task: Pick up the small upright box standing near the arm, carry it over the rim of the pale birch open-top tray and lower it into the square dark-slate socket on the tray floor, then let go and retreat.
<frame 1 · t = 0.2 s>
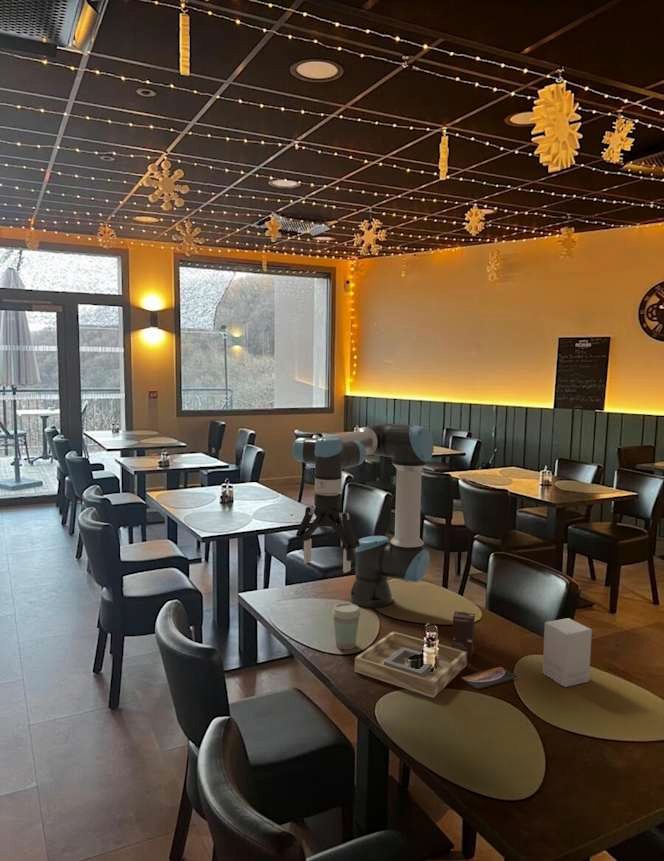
hand: (326, 566, 181), 28 cm above the table, fingers open, 13 cm apart
coffee cup: (345, 646, 194), on the table
smartphone: (489, 680, 175), on the table
slate socket: (411, 663, 180), in the birch tray, point 1 cm above the table
birch tray: (411, 668, 180), on the table
supplement box: (565, 678, 176), on the table
box: (462, 654, 190), on the table
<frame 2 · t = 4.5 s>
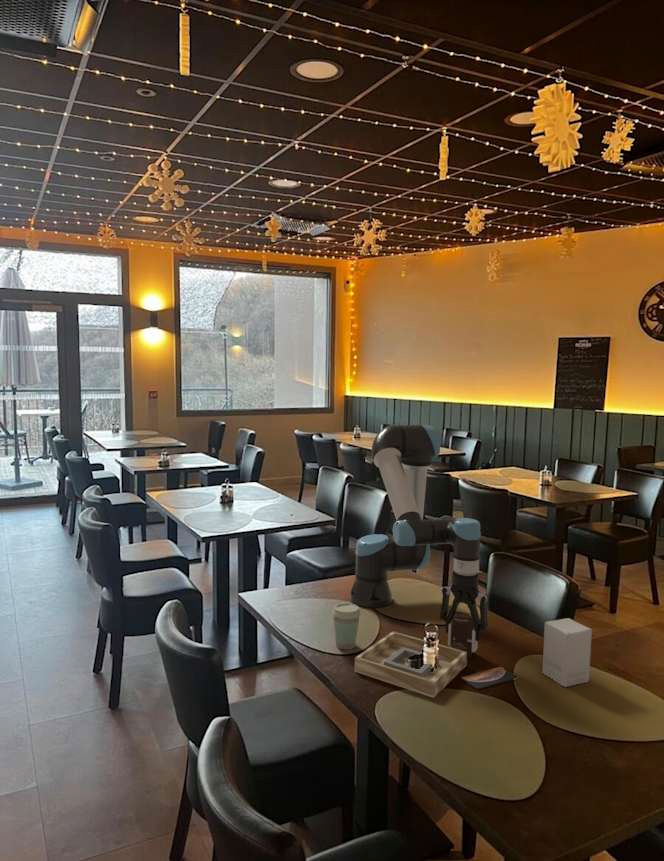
hand: (462, 646, 190), 2 cm above the table, fingers closed on box, 7 cm apart
box: (462, 654, 190), on the table, touching gripper
everything else where it was.
when the fingers open (4 cm above the table, at t = 9.4 s): box drops 1 cm, point 1 cm above the table.
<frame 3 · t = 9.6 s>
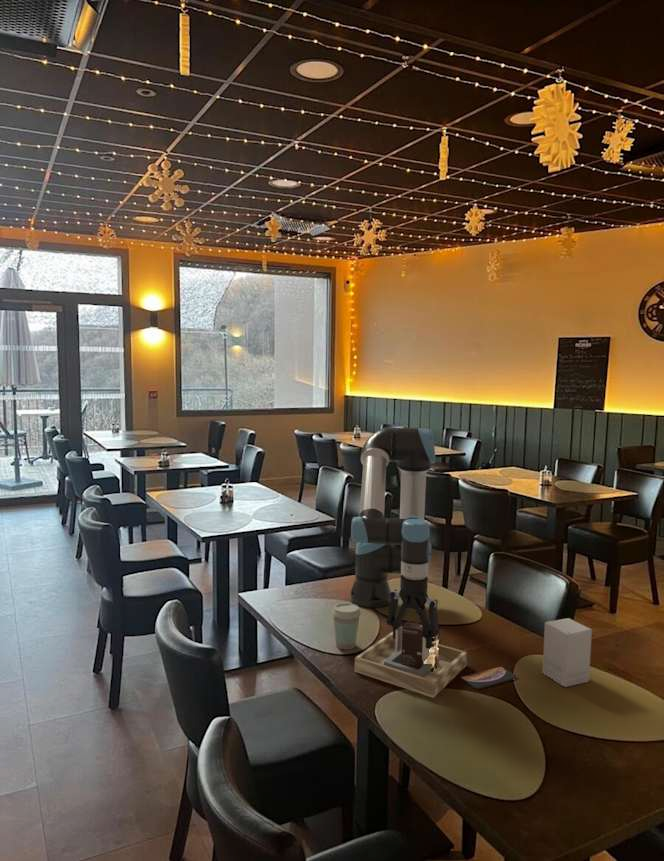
hand: (411, 654, 180), 4 cm above the table, fingers open, 8 cm apart
box: (412, 667, 180), point 1 cm above the table, touching gripper
everything else where it was.
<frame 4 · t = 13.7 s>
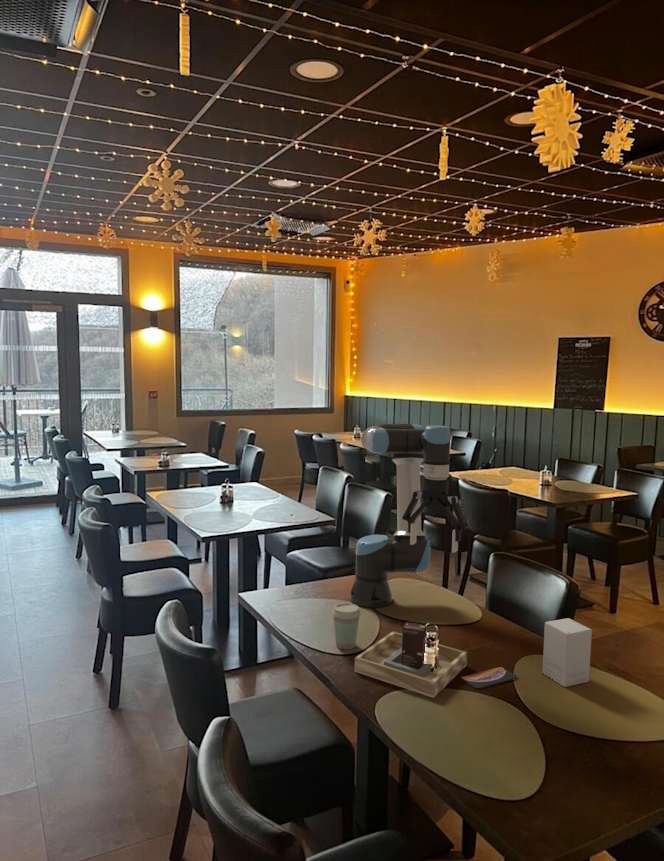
hand: (433, 547, 192), 31 cm above the table, fingers open, 13 cm apart
box: (413, 667, 180), resting on birch tray
everything else where it was.
at the end: box 0.5 cm off-centre on the slate socket, point 0.4 cm above the slate socket's base; box tilted 0°; the gripper is holding nothing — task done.
